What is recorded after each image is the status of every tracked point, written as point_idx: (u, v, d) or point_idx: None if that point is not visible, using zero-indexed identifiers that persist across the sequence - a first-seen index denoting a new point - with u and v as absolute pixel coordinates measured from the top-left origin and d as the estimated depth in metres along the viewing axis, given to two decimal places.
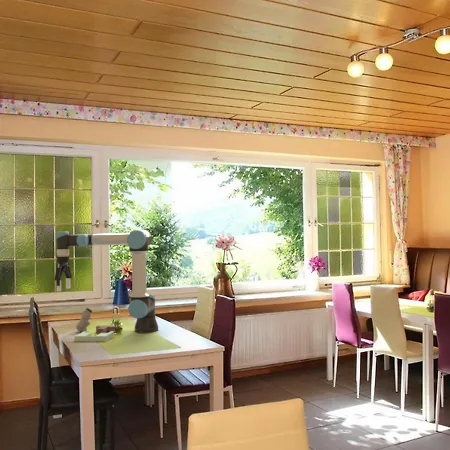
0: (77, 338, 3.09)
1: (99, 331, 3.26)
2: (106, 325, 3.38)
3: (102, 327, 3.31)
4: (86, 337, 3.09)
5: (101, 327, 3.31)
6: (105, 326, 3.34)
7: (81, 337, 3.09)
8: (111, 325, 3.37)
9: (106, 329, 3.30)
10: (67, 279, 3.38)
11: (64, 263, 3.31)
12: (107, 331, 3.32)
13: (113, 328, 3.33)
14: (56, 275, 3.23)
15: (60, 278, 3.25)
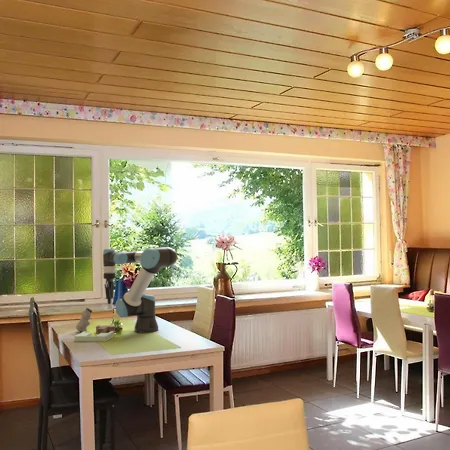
0: (77, 338, 3.09)
1: (99, 331, 3.26)
2: (106, 325, 3.38)
3: (102, 327, 3.31)
4: (86, 337, 3.09)
5: (101, 327, 3.31)
6: (105, 326, 3.34)
7: (81, 337, 3.09)
8: (111, 325, 3.37)
9: (106, 329, 3.30)
10: None
11: (110, 279, 3.43)
12: (107, 331, 3.32)
13: (113, 328, 3.33)
14: (107, 294, 3.40)
15: (111, 296, 3.43)
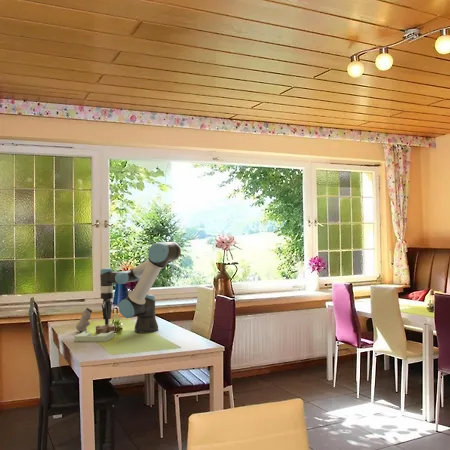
0: (77, 338, 3.09)
1: (99, 331, 3.25)
2: (106, 325, 3.37)
3: (102, 327, 3.30)
4: (86, 337, 3.09)
5: (101, 327, 3.30)
6: (105, 326, 3.34)
7: (81, 337, 3.09)
8: (111, 325, 3.37)
9: (106, 329, 3.30)
10: None
11: (108, 299, 3.37)
12: (107, 331, 3.31)
13: (113, 328, 3.33)
14: (104, 315, 3.34)
15: (108, 316, 3.37)
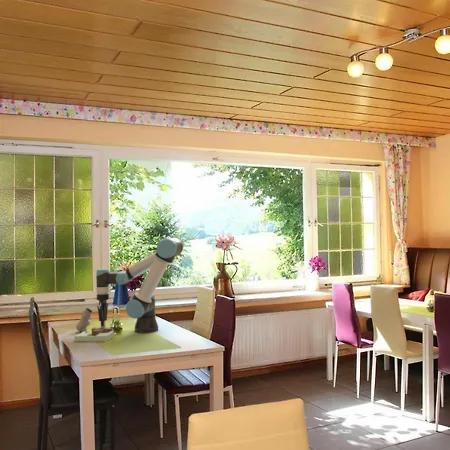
0: (77, 338, 3.09)
1: (94, 333, 3.19)
2: None
3: (97, 329, 3.23)
4: (86, 337, 3.09)
5: (96, 329, 3.23)
6: (101, 328, 3.27)
7: (81, 337, 3.09)
8: None
9: (102, 331, 3.23)
10: None
11: (104, 301, 3.30)
12: None
13: (109, 330, 3.26)
14: (100, 317, 3.27)
15: (104, 318, 3.30)
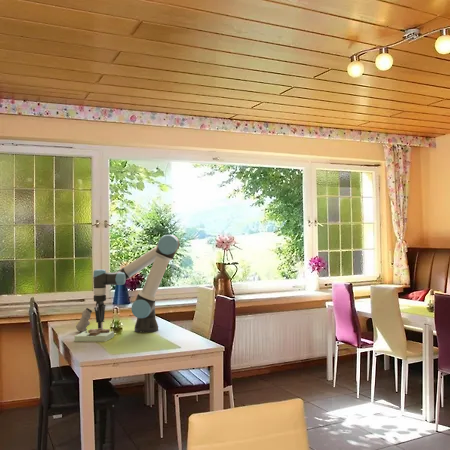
0: (77, 338, 3.09)
1: (91, 335, 3.13)
2: (99, 329, 3.25)
3: (94, 331, 3.18)
4: (86, 337, 3.09)
5: (93, 331, 3.18)
6: (98, 330, 3.21)
7: (81, 337, 3.09)
8: (104, 329, 3.25)
9: (99, 333, 3.18)
10: None
11: (101, 302, 3.25)
12: None
13: (106, 332, 3.21)
14: (97, 318, 3.22)
15: (101, 320, 3.25)
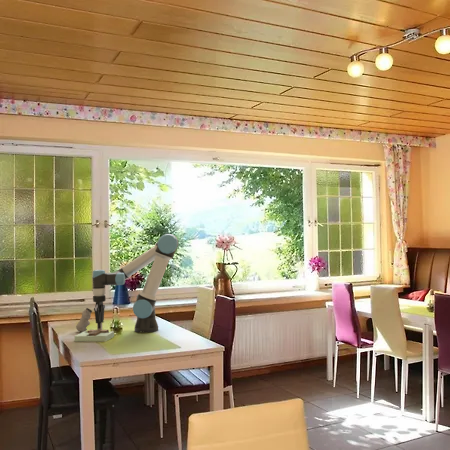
0: (77, 338, 3.09)
1: None
2: None
3: (93, 331, 3.17)
4: (86, 337, 3.09)
5: (92, 331, 3.17)
6: (97, 330, 3.20)
7: (81, 337, 3.09)
8: None
9: None
10: None
11: (100, 302, 3.24)
12: None
13: (105, 332, 3.19)
14: (96, 319, 3.20)
15: (101, 320, 3.23)
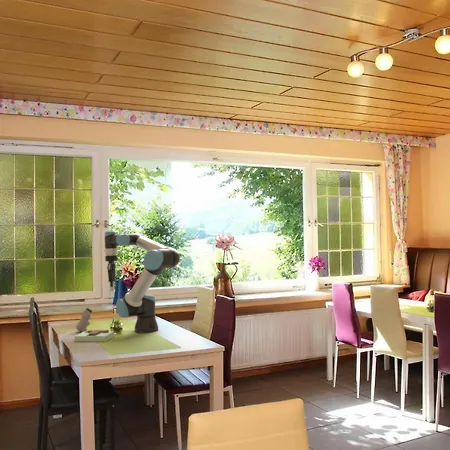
0: (77, 338, 3.09)
1: None
2: None
3: (93, 331, 3.17)
4: (86, 337, 3.09)
5: (92, 331, 3.17)
6: (97, 330, 3.20)
7: (81, 337, 3.09)
8: None
9: None
10: None
11: (112, 262, 3.41)
12: None
13: (105, 332, 3.19)
14: (109, 277, 3.37)
15: (113, 279, 3.40)
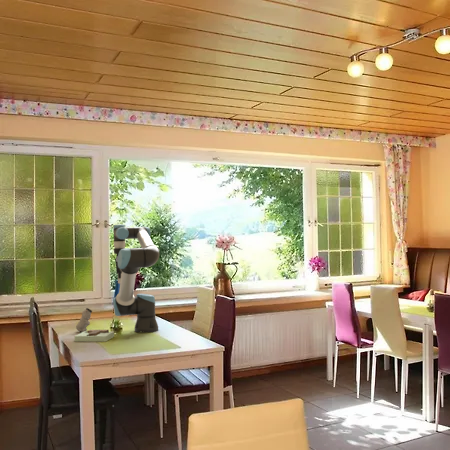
0: (77, 338, 3.09)
1: None
2: None
3: (93, 331, 3.17)
4: (86, 337, 3.09)
5: (92, 331, 3.17)
6: (97, 330, 3.20)
7: (81, 337, 3.09)
8: None
9: None
10: None
11: None
12: None
13: (105, 332, 3.19)
14: (117, 269, 3.47)
15: (121, 271, 3.50)
